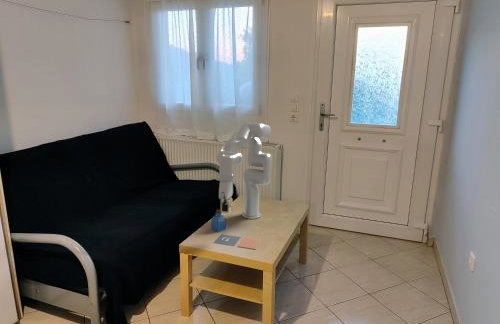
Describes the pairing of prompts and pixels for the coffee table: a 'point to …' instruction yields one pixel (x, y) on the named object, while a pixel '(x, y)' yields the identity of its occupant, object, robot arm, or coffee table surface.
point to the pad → (249, 243)
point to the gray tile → (227, 240)
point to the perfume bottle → (218, 222)
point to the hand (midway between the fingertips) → (226, 209)
